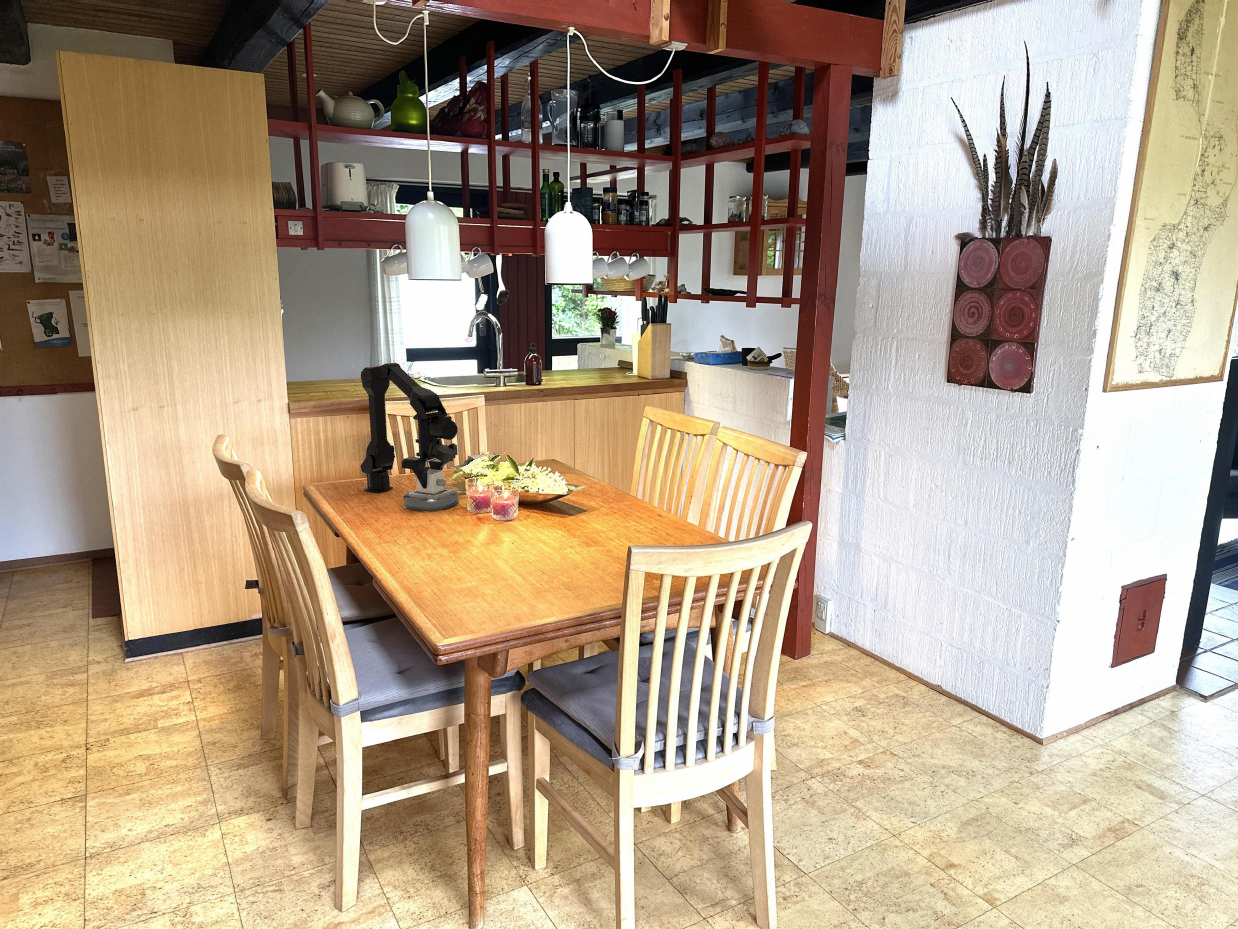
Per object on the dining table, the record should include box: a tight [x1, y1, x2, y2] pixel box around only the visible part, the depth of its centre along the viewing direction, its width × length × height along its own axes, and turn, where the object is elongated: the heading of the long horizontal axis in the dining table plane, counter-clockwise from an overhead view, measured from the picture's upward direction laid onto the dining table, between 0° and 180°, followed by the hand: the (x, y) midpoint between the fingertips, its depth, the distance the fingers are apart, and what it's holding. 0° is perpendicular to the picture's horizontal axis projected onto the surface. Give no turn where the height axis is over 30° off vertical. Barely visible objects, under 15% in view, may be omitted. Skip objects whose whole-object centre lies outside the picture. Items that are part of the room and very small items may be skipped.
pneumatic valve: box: [463, 452, 498, 467], centre depth 272 cm, size 6×12×12 cm, turn 117°
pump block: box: [416, 469, 447, 494], centre depth 254 cm, size 8×5×6 cm, turn 64°
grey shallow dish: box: [403, 487, 459, 512], centre depth 256 cm, size 16×16×4 cm
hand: (430, 486), depth 255 cm, fingers closed on pump block, 5 cm apart
